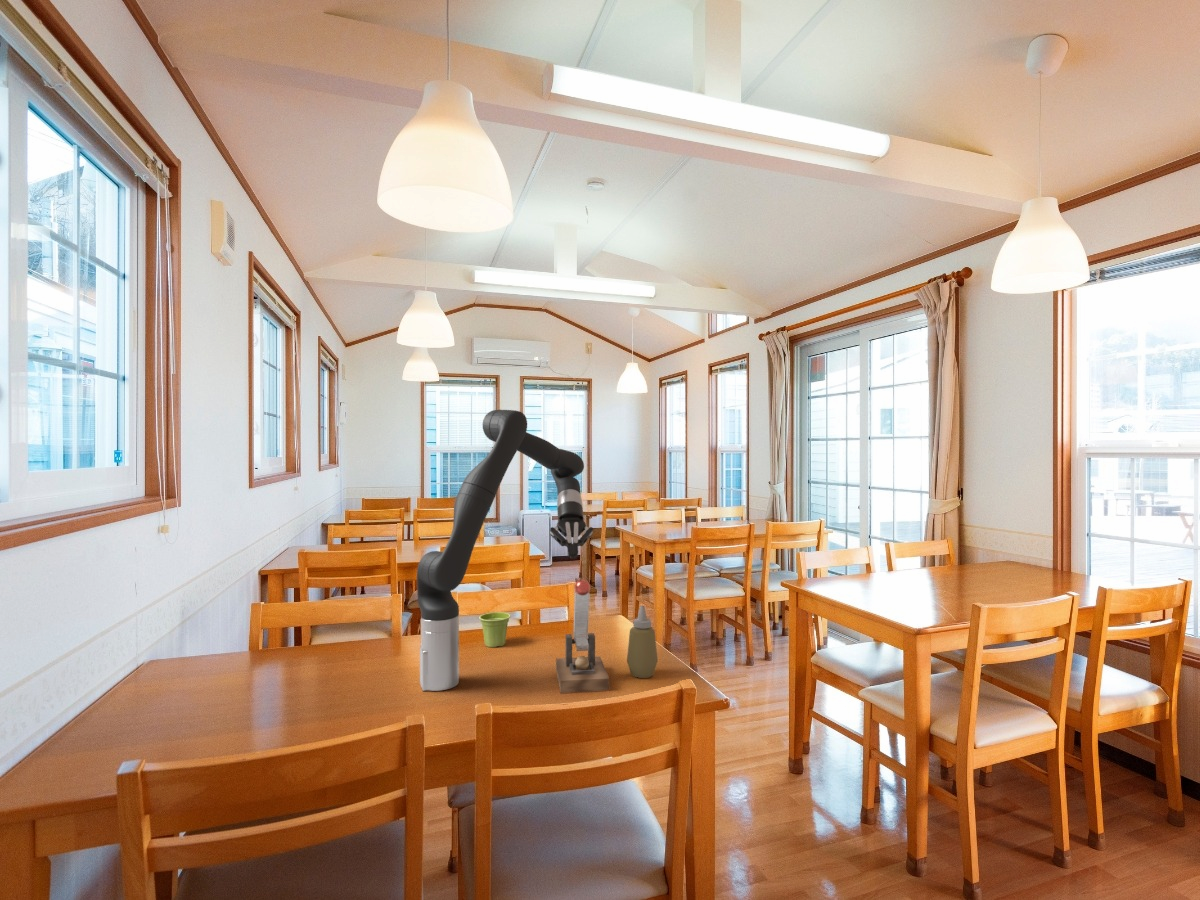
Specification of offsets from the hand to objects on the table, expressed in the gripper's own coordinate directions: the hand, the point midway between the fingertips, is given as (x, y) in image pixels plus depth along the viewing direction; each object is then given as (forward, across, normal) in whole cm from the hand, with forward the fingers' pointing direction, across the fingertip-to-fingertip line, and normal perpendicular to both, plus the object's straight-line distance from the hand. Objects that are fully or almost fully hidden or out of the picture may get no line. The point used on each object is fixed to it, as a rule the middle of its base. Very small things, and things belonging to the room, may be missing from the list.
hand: (573, 556), depth 167 cm
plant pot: (+8, -22, +35) cm, 42 cm away
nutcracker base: (+30, +1, +12) cm, 32 cm away
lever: (+22, +1, +6) cm, 23 cm away
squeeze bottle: (+29, +18, +13) cm, 36 cm away
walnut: (+28, +1, +9) cm, 30 cm away
